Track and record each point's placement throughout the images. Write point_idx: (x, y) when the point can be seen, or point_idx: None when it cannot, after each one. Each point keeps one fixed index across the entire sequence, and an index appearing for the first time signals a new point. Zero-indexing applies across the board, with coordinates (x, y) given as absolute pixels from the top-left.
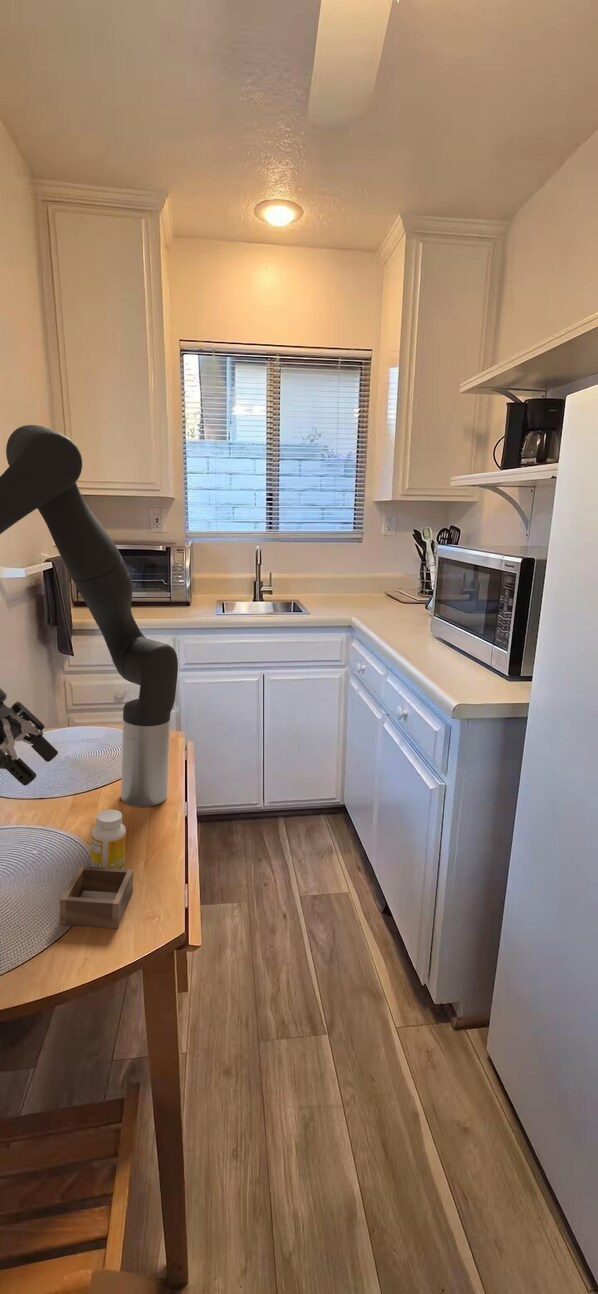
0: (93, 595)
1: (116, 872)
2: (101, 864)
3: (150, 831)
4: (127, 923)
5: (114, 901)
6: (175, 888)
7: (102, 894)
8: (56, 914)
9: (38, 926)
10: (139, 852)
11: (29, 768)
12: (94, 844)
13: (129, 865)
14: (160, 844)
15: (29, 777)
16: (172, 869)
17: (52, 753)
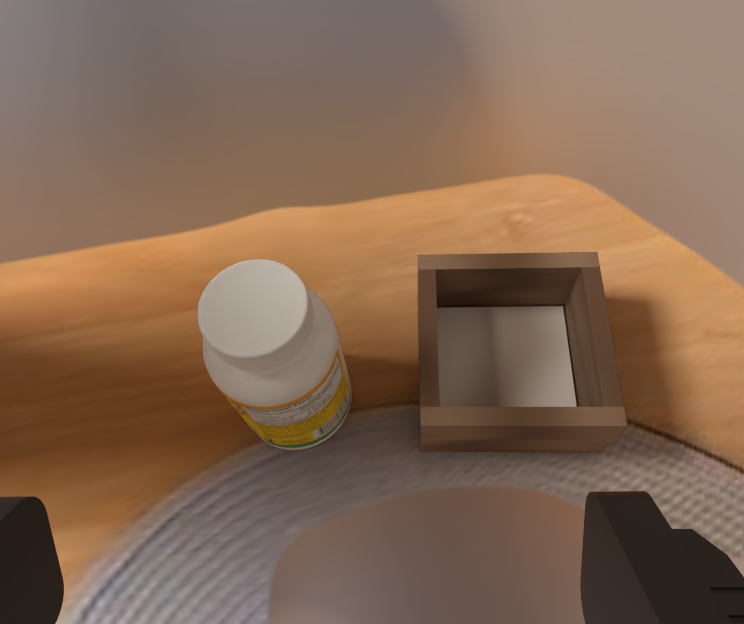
0: None
1: (436, 300)
2: (347, 386)
3: (81, 322)
4: None
5: (588, 265)
6: (385, 200)
7: (450, 367)
8: (556, 480)
9: None
10: None
11: (641, 555)
12: (326, 389)
13: None
14: (164, 277)
15: (688, 531)
16: (298, 222)
17: (16, 542)
